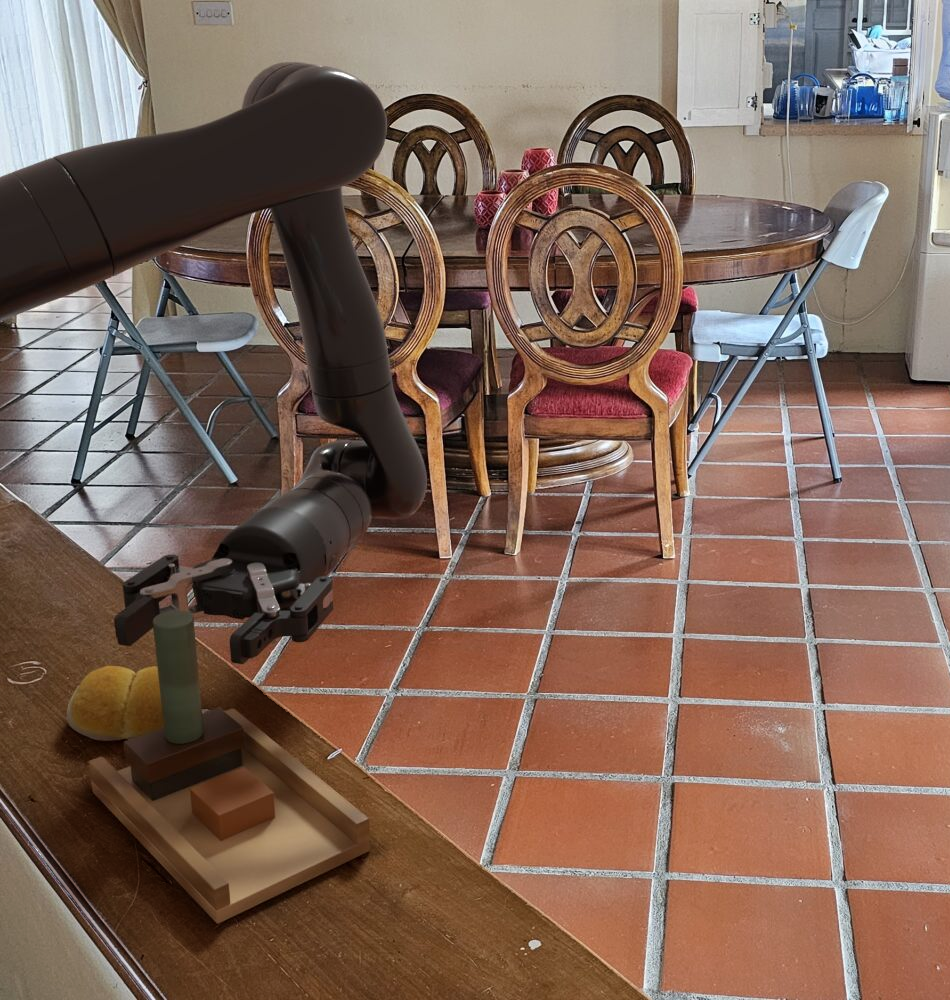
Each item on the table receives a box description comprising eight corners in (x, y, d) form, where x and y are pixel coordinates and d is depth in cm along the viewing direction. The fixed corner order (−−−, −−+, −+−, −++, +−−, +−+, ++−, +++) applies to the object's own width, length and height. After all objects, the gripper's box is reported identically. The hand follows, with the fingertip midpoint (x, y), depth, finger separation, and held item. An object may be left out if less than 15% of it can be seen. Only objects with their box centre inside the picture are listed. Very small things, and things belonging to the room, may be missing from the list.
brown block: (191, 813, 87) (189, 788, 86) (245, 790, 90) (243, 766, 89) (220, 841, 84) (218, 815, 84) (275, 817, 87) (273, 792, 86)
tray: (92, 792, 90) (88, 760, 90) (235, 737, 98) (233, 707, 97) (217, 924, 78) (214, 889, 77) (370, 851, 86) (369, 818, 85)
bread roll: (185, 745, 96) (180, 698, 95) (60, 748, 95) (53, 700, 94) (205, 688, 104) (201, 644, 102) (90, 690, 103) (84, 646, 102)
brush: (127, 780, 90) (109, 624, 86) (222, 744, 95) (209, 594, 90) (151, 804, 88) (133, 644, 83) (247, 765, 92) (235, 612, 88)
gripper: (199, 495, 103) (77, 579, 88) (368, 516, 100) (271, 607, 85) (207, 581, 105) (89, 676, 91) (371, 604, 102) (277, 706, 88)
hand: (177, 642), depth 88 cm, fingers open, 8 cm apart
